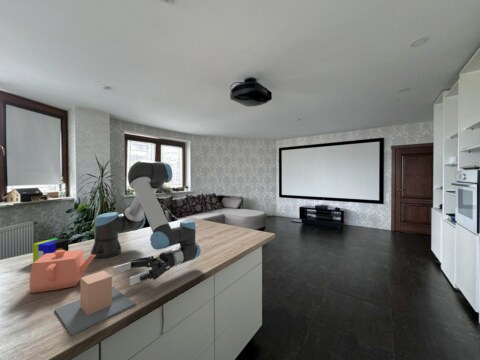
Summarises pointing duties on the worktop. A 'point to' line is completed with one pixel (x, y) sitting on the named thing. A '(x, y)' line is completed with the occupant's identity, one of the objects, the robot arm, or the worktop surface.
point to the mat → (80, 320)
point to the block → (96, 292)
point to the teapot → (58, 270)
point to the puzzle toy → (49, 247)
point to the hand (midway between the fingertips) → (121, 275)
